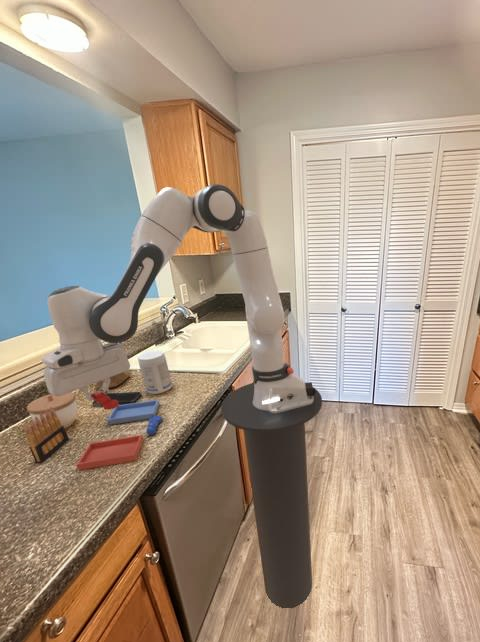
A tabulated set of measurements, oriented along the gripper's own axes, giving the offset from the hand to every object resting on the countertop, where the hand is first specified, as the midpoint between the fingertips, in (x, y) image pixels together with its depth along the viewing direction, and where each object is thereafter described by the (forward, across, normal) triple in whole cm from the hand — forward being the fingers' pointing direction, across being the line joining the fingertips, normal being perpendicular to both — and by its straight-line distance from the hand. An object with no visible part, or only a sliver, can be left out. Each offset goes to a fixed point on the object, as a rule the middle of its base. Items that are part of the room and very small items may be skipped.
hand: (98, 396), depth 91 cm
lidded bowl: (+15, +4, -25) cm, 30 cm away
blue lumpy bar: (+15, -11, +4) cm, 19 cm away
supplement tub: (+15, -29, -18) cm, 37 cm away
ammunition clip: (+15, +12, -11) cm, 22 cm away
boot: (+15, -24, -41) cm, 50 cm away
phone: (+15, -15, -24) cm, 33 cm away
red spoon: (+2, 0, +2) cm, 3 cm away
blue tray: (+15, -12, -9) cm, 22 cm away
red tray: (+15, +4, +6) cm, 17 cm away
